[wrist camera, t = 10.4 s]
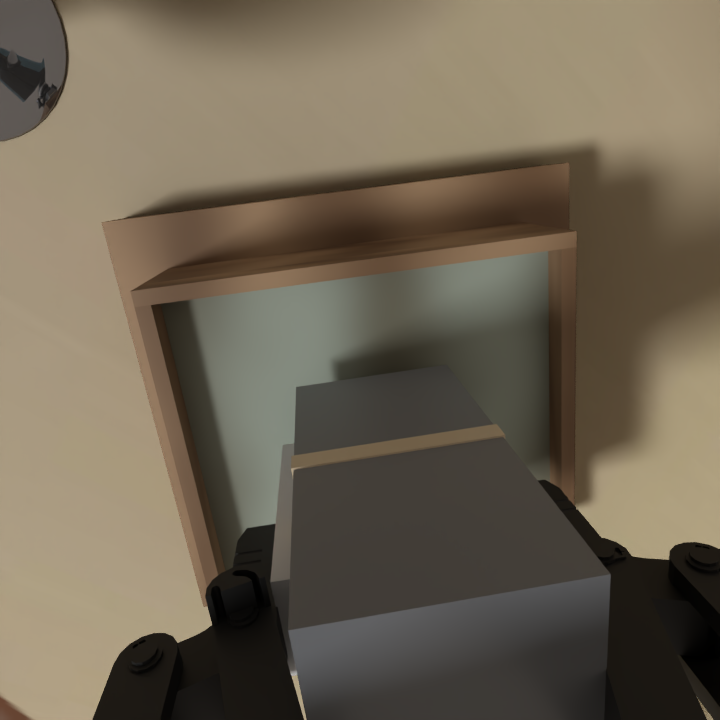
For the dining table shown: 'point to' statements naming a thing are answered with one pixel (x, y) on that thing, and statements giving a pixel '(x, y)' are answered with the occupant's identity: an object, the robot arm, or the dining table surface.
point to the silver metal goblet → (29, 64)
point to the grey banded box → (434, 564)
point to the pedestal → (346, 324)
